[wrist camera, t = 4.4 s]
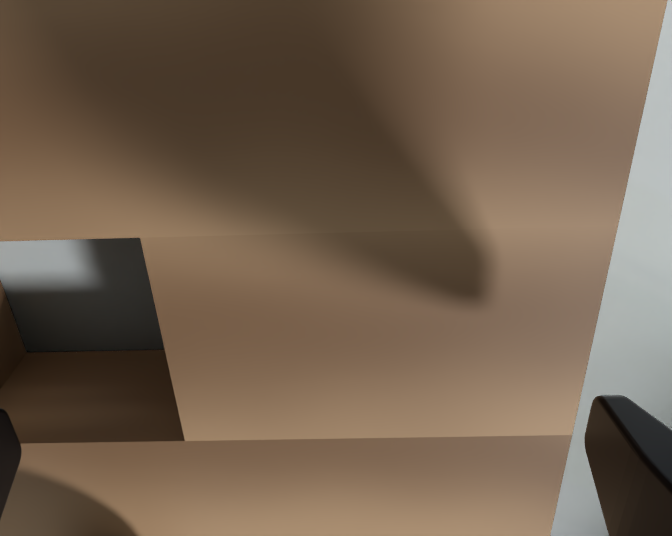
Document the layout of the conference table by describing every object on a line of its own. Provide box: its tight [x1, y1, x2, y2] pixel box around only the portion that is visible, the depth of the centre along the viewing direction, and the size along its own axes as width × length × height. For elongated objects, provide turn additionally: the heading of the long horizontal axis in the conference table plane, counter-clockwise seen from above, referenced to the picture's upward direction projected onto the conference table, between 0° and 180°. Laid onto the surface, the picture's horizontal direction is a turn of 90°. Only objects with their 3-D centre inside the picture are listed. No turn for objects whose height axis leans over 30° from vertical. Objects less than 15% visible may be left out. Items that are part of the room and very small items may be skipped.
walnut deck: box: [0, 0, 667, 536], centre depth 15 cm, size 22×20×3 cm
